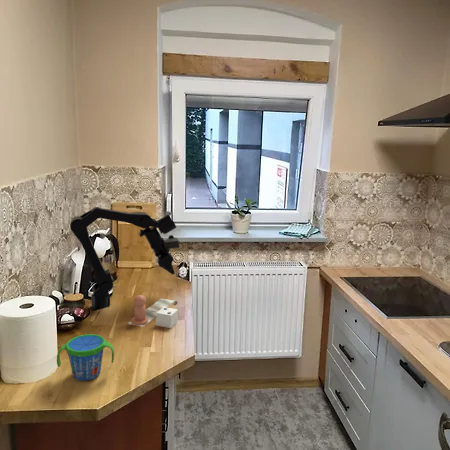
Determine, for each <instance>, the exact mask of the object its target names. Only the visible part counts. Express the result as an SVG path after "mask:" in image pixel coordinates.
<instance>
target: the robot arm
mask: <svg viewBox="0 0 450 450" xmlns="http://www.w3.org/2000/svg"><path fill="white" fill-rule="evenodd" d="M98 219H104V220H110V221H116V222H122V223H126V224H127V223H128V224H131V225H133V226H135V227H138V228H142V229H139V232H138V236H139V237H140V238H141V237H143V236H144V237H145V239H146V241H147V242H148V244H149V245H150V246H149V247H150V248H151V249H152V252H153V253H154V255H155V257H156V258H157V259H156V261H157V265H158V266H159V267H160V268H162V269H164V270H165V271H167V273H170V274H171V275H175V274H176V273H175V269H174V266H173V262H174V257H173V255H172V253H171V252H170V249H178V248H180V241H179V239H178V237H175V236H173V235H172V234H169V235H168V238H166V239H164V238H163V236H162V234H163V235H167V234H168V233H170V232H172V231H174V230H175V229H177V225H176V222H175V221H174V220H173V219H172V218H171V216H170V215H169V213H168V214H166V215H164V216H162V217H161V218H159V219H156V218H152V217H151V216H150V215H149V214H148V213H146V212H144V211H140V212H139V211H136V212H135V211H134V212H126V211H120V210H116V209H109V208H104V207H103V208H102V207H99V206H94V207H92V209H90V210H88V211H87V212H85V213H83V214H81V215H80V216H79V215H78V216H77V215H76V216H74V217H73V218H71V219H70V224H69V225H70V226H69V227H70V231H71V232H72V233H73V235H74V236H75V237H76V238H77V240H78V241H79V242H80V244H81V246H82V248H83V250H84V252H85V254H86V257H87V258H88V261H89V263H90V265H91V267H92V269H93V272H94V274H95V278H96V282H95V283H94V284H93V285H92V289H91V290H92V294H91V297H90V298H91V300H90V301H91V306H89V309H91V310H92V311H94V312H95V311H99V310H103V309H106V308H110V306H111V296H110V292H111V291H113V289H114V282H115V280H114V277H113V276H112V274H111V271H110V269H109V268H108V269H105V268H104V266H103V264H102V262H101V260H100V258H99V256H98V253H97V251H96V248H95V245H94V244H93V243H92V240H91V238H90V235H89V229H88V227H89V226H90V225H92V224H93V223H95V222H96V220H97V221H98Z"/></svg>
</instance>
